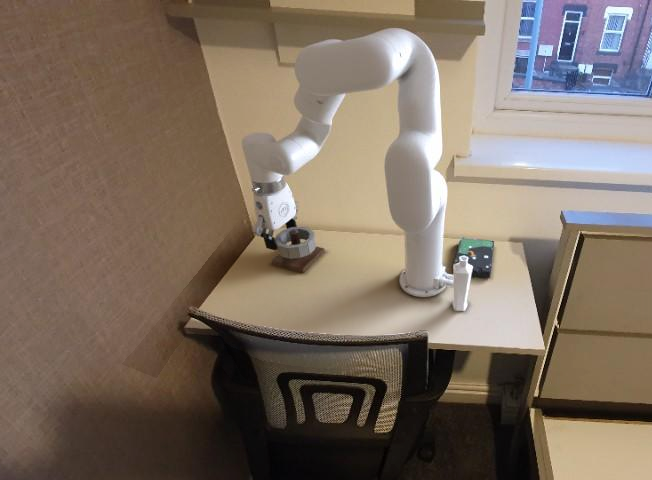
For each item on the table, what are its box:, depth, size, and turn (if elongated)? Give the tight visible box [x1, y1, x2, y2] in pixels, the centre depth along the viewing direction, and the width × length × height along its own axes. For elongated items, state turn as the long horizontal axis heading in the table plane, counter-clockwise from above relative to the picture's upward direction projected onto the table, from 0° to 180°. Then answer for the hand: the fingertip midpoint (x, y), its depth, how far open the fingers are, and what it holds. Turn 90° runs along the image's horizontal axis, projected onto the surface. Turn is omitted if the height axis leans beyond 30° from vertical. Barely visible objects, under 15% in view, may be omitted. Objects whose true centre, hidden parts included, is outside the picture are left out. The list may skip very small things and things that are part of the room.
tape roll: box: [274, 226, 317, 259], centre depth 108 cm, size 10×10×4 cm
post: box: [271, 229, 326, 274], centre depth 109 cm, size 10×10×9 cm
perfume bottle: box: [451, 255, 473, 312], centre depth 94 cm, size 5×4×15 cm
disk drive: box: [453, 236, 495, 279], centre depth 113 cm, size 10×3×15 cm
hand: (282, 239), depth 109 cm, fingers closed on tape roll, 8 cm apart
